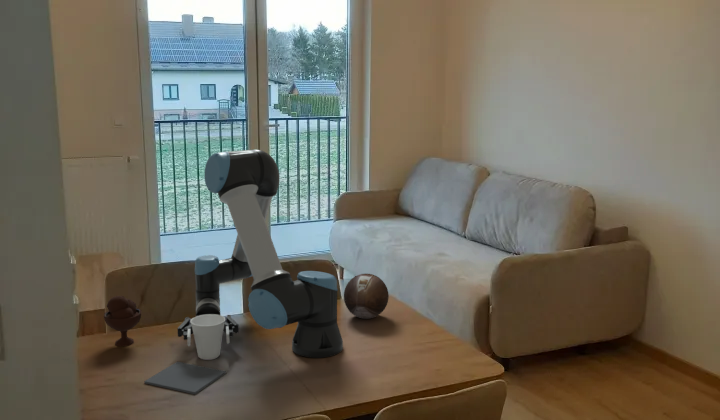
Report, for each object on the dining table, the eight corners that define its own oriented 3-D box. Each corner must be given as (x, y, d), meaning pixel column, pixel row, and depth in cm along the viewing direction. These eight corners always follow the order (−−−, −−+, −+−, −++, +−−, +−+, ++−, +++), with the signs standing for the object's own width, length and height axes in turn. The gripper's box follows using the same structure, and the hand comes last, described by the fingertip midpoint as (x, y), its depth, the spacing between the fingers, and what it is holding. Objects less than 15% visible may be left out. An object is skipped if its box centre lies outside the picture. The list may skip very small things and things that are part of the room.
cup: (233, 353, 203) (232, 317, 201) (212, 365, 194) (211, 328, 192) (205, 347, 207) (204, 312, 205) (184, 359, 198) (182, 322, 196)
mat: (226, 373, 189) (225, 371, 189) (195, 394, 177) (195, 392, 176) (177, 363, 195) (177, 361, 195) (144, 383, 183) (144, 381, 182)
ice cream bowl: (136, 350, 204) (134, 301, 202) (99, 349, 205) (96, 300, 202) (148, 336, 215) (146, 290, 212) (112, 336, 215) (109, 289, 212)
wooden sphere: (343, 325, 227) (343, 280, 224) (344, 309, 242) (344, 268, 239) (389, 325, 227) (390, 281, 224) (387, 310, 242) (387, 268, 239)
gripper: (245, 323, 220) (249, 349, 198) (171, 327, 215) (167, 355, 194) (244, 300, 218) (248, 324, 197) (170, 304, 214) (166, 330, 192)
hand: (208, 340), depth 195 cm, fingers open, 10 cm apart
